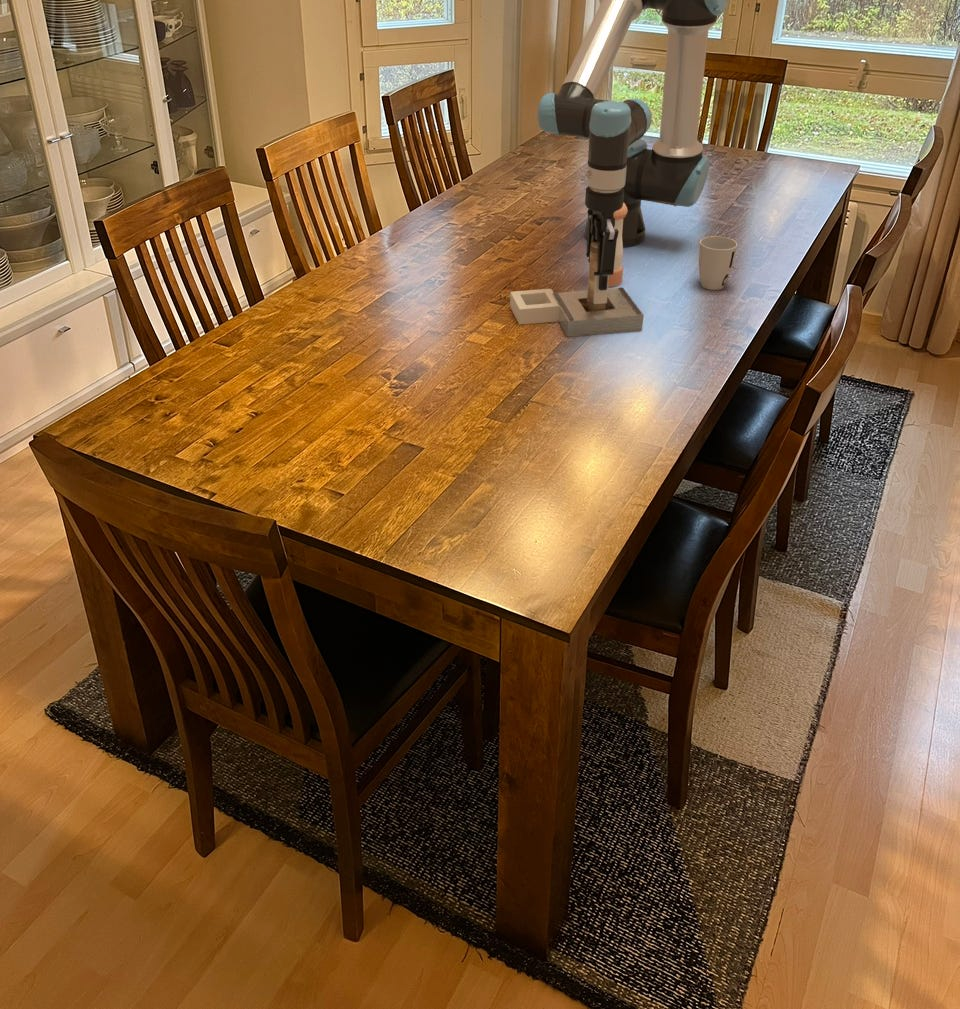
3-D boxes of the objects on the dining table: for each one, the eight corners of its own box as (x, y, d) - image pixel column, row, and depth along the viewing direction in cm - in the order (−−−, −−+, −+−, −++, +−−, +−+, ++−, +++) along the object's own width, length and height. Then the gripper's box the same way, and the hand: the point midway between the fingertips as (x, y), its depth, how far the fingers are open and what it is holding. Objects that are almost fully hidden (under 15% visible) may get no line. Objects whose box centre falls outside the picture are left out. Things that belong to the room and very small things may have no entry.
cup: (730, 294, 222) (737, 251, 216) (693, 291, 223) (699, 248, 218) (730, 279, 228) (737, 237, 223) (694, 276, 230) (700, 234, 224)
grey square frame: (550, 308, 216) (551, 292, 214) (621, 302, 218) (623, 286, 216) (567, 337, 205) (568, 320, 203) (642, 330, 207) (643, 313, 205)
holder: (510, 306, 217) (510, 291, 215) (550, 303, 218) (551, 288, 216) (519, 324, 210) (519, 309, 208) (560, 321, 211) (561, 305, 209)
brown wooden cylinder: (583, 309, 212) (588, 241, 203) (602, 307, 213) (607, 239, 204) (589, 317, 209) (593, 248, 200) (607, 315, 209) (613, 247, 201)
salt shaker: (626, 277, 229) (633, 195, 218) (616, 289, 224) (623, 205, 213) (596, 272, 232) (602, 190, 221) (585, 284, 227) (590, 200, 215)
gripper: (575, 174, 201) (569, 283, 215) (599, 202, 188) (590, 316, 202) (611, 172, 202) (602, 281, 216) (637, 200, 189) (626, 314, 203)
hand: (596, 298), depth 209 cm, fingers closed on brown wooden cylinder, 4 cm apart
